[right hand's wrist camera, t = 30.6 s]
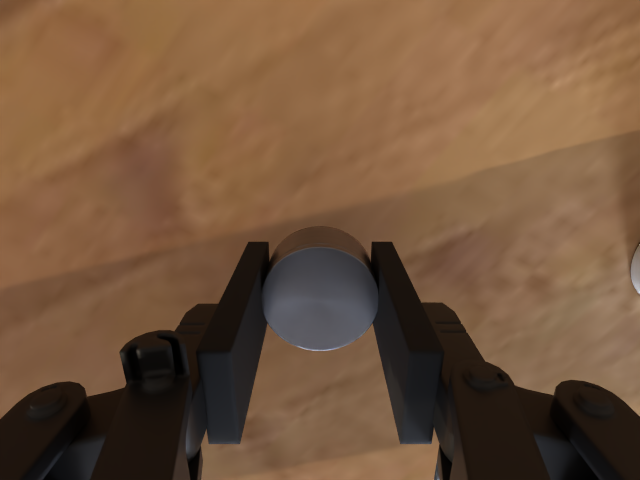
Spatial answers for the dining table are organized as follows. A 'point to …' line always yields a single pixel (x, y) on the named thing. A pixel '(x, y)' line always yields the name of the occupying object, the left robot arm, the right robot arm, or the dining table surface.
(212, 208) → the dining table surface
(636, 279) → the bottle
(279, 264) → the cap
